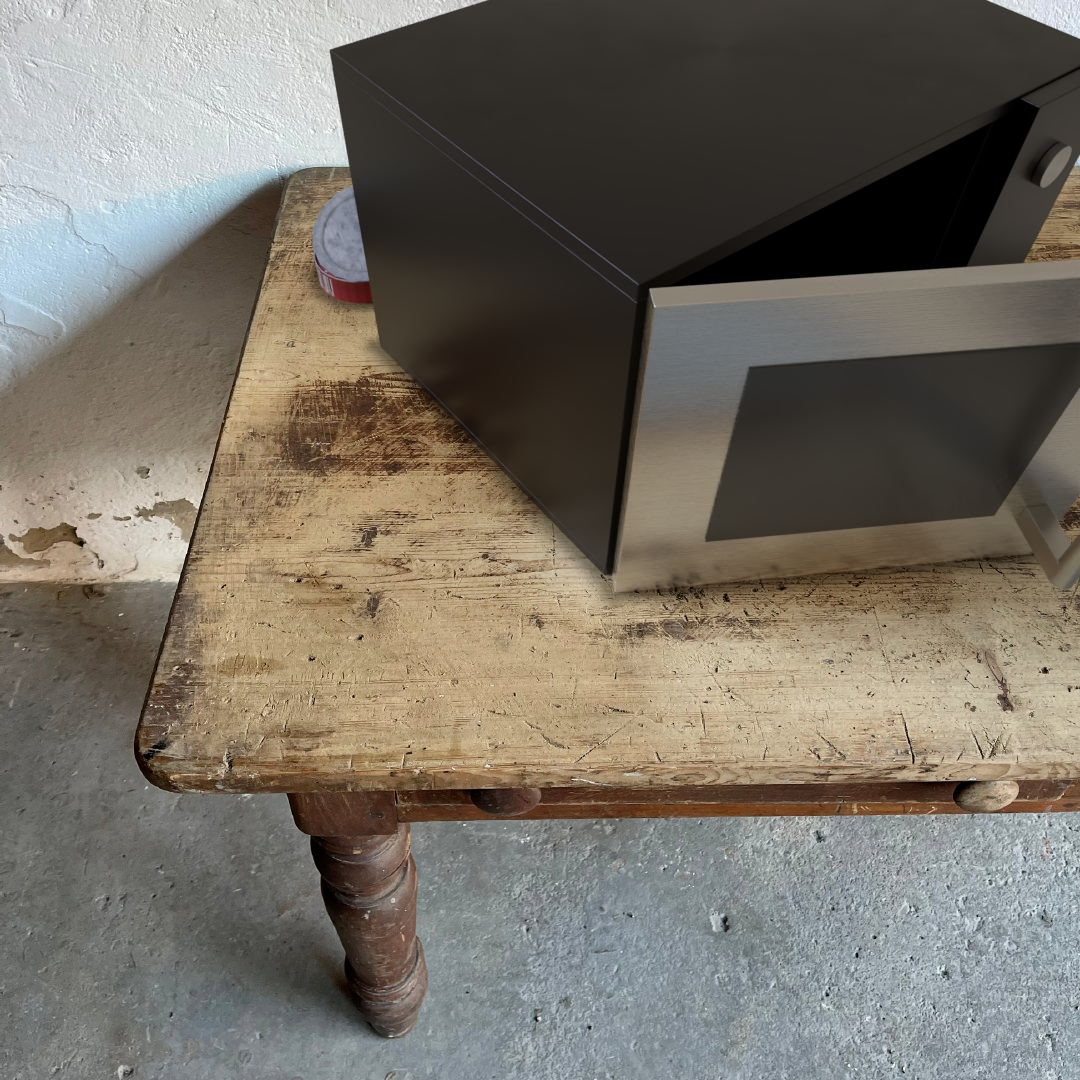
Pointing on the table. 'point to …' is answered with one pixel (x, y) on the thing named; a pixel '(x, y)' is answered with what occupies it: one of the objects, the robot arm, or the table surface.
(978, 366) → the microwave door
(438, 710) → the table surface
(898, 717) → the table surface
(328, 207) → the canned food
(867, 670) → the table surface
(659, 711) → the table surface
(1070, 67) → the microwave
